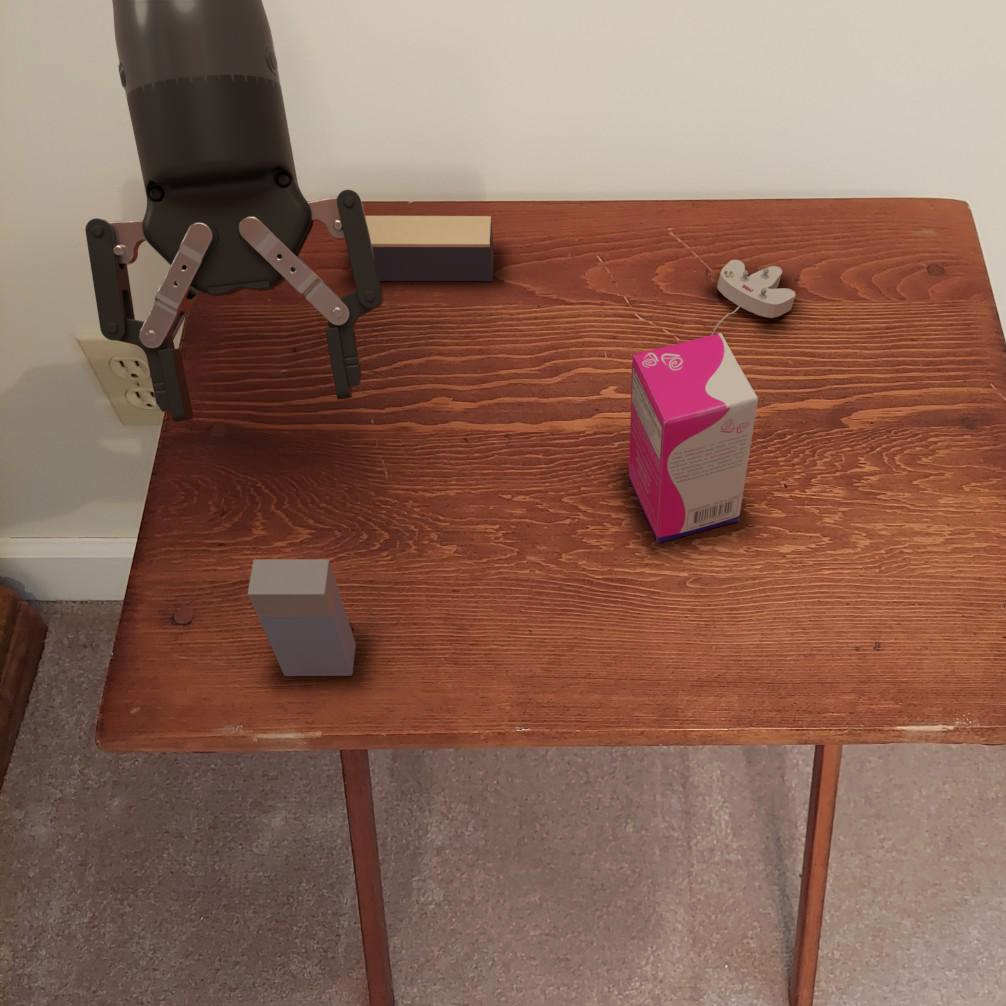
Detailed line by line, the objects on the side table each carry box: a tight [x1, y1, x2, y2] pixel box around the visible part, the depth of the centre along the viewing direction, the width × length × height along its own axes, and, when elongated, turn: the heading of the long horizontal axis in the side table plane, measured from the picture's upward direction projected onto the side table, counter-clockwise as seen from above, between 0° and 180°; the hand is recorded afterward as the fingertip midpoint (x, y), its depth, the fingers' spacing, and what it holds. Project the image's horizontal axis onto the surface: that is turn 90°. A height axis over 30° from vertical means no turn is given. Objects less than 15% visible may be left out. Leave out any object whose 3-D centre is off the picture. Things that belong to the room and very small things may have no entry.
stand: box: [365, 215, 495, 282], centre depth 86 cm, size 10×3×4 cm, turn 91°
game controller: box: [710, 259, 796, 335], centre depth 83 cm, size 6×12×3 cm, turn 158°
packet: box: [247, 558, 357, 677], centre depth 66 cm, size 4×2×9 cm, turn 91°
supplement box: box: [628, 332, 759, 543], centre depth 71 cm, size 6×6×12 cm
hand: (264, 409), depth 63 cm, fingers open, 8 cm apart
